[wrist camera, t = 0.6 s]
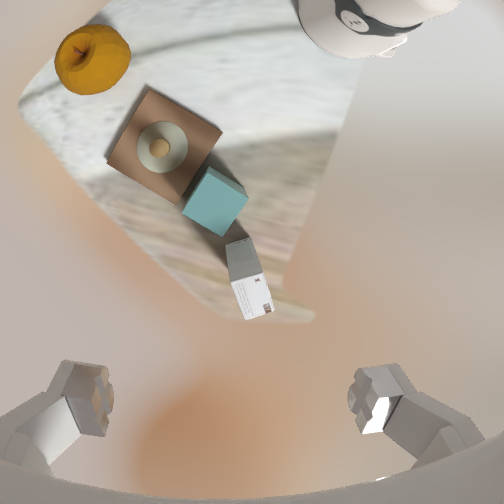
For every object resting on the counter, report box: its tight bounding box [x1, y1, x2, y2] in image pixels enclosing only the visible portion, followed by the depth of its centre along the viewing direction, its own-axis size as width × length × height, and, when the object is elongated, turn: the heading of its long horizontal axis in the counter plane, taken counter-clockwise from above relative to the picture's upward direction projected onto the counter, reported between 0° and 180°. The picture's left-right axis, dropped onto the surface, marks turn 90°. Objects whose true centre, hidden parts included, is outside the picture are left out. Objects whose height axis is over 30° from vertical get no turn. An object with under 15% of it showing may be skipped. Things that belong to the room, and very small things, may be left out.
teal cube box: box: [182, 166, 249, 237], centre depth 43 cm, size 6×6×7 cm
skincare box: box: [225, 237, 275, 320], centre depth 44 cm, size 6×4×12 cm
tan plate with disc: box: [106, 89, 223, 205], centre depth 40 cm, size 12×12×4 cm
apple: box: [54, 24, 131, 95], centre depth 31 cm, size 10×10×12 cm
